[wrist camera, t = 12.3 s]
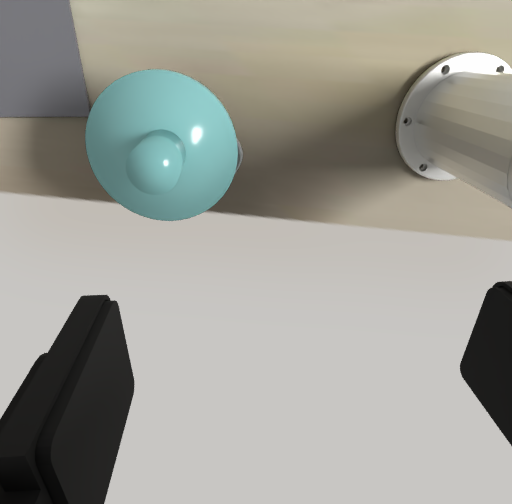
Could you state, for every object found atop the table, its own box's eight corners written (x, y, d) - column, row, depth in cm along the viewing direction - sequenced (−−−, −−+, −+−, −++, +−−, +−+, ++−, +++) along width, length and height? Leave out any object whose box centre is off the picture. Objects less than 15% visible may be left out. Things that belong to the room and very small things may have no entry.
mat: (61, -38, 31) (59, -39, 30) (91, 115, 36) (90, 116, 36) (-94, -42, 30) (-97, -43, 29) (-38, 116, 36) (-41, 117, 35)
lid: (237, 70, 29) (240, 76, 23) (237, 214, 34) (239, 246, 29) (76, 67, 28) (40, 71, 22) (103, 215, 34) (80, 248, 28)
